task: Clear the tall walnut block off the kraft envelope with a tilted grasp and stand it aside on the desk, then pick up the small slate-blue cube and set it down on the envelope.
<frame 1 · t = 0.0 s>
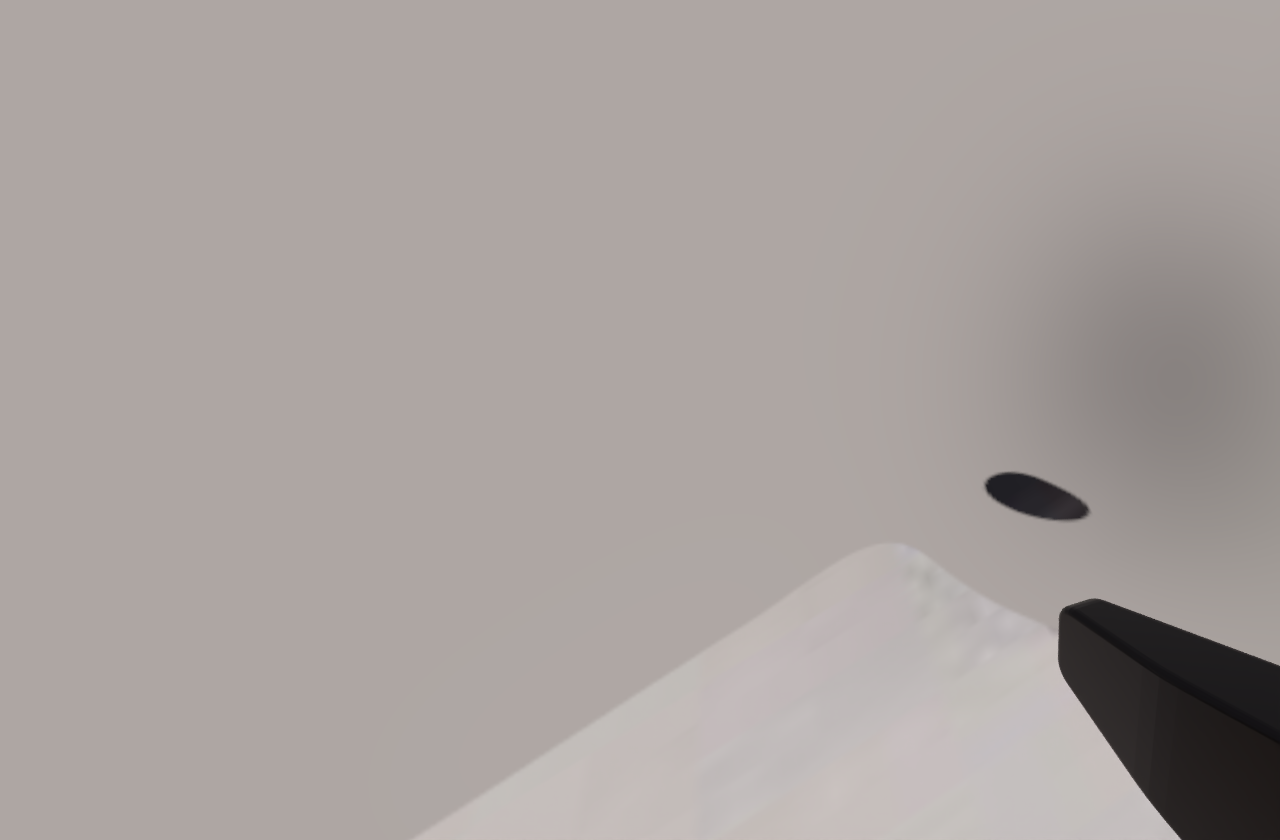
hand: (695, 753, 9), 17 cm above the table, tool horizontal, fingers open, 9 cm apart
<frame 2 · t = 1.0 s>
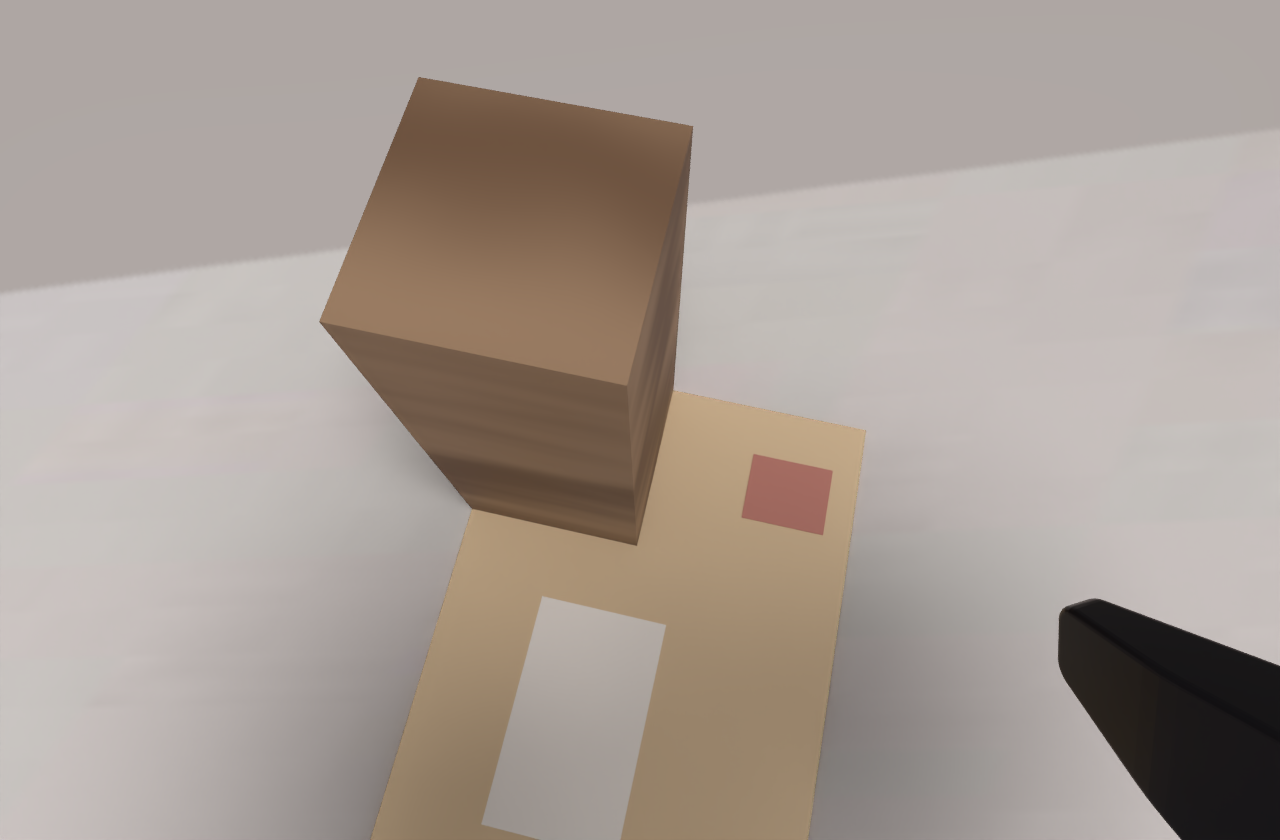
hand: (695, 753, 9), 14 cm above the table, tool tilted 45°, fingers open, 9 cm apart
walnut block: (575, 448, 25), resting on kraft envelope
kraft envelope: (630, 655, 23), on the table
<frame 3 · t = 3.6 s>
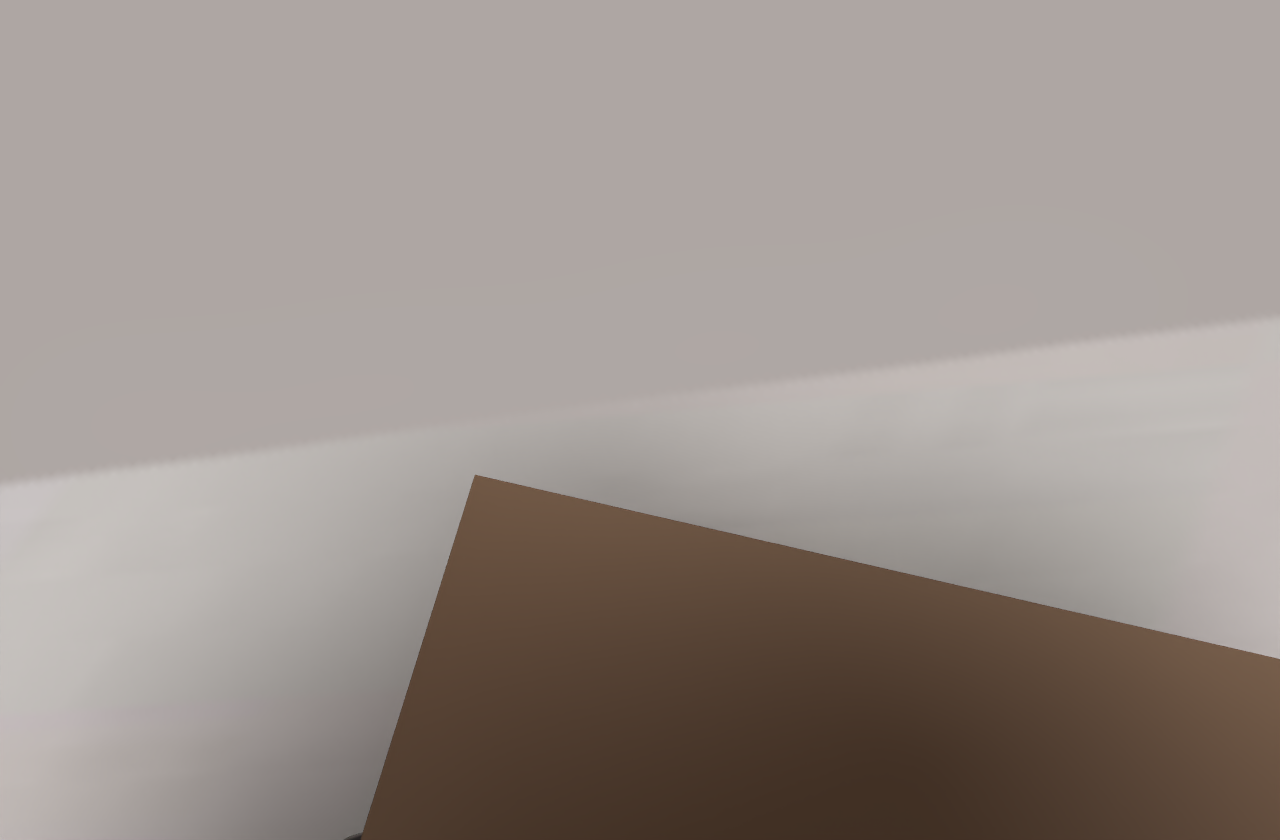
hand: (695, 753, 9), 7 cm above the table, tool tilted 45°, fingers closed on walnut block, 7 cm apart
walnut block: (695, 817, 15), resting on kraft envelope, touching gripper
when the fingers open (8 cm above the table, at t = 8.3 s): walnut block drops 1 cm, on the table.
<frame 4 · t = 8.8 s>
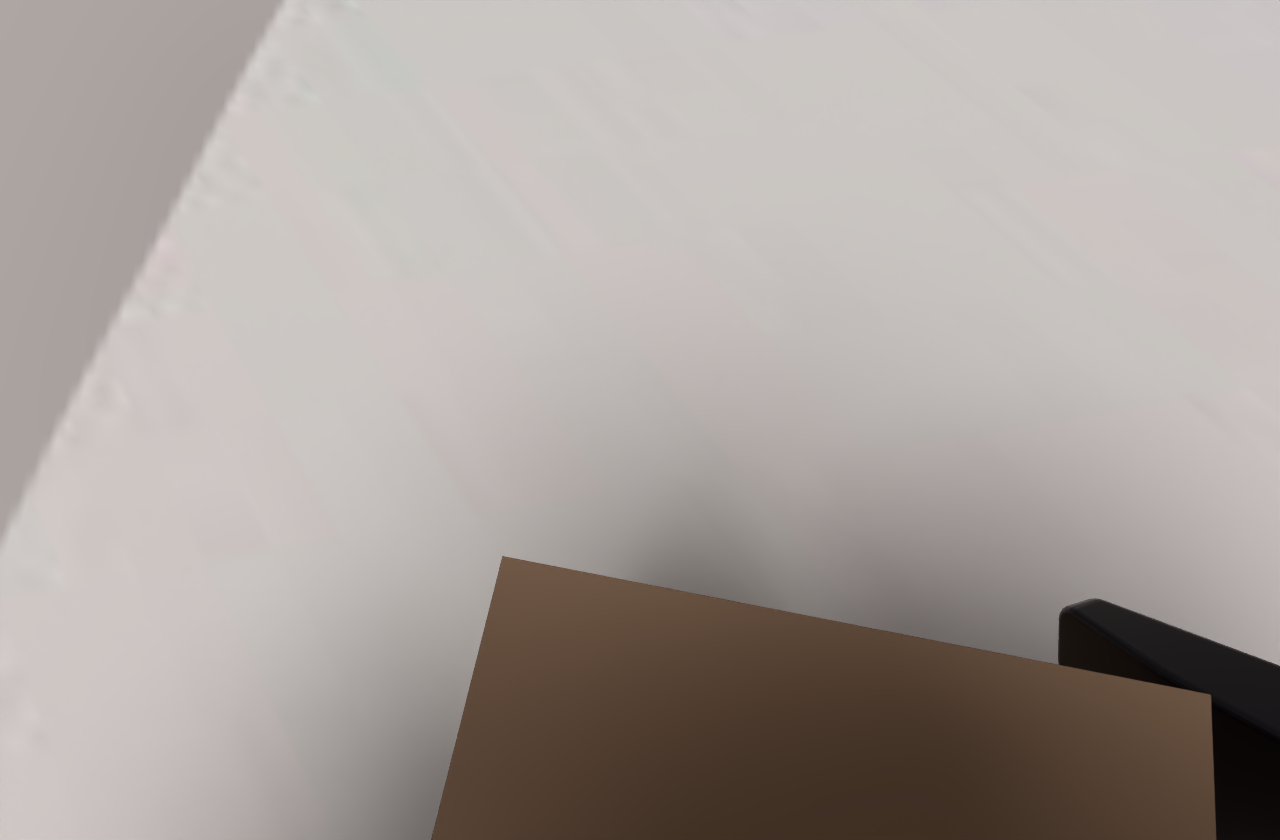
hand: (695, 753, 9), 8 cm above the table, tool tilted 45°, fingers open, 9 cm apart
walnut block: (692, 812, 16), on the table
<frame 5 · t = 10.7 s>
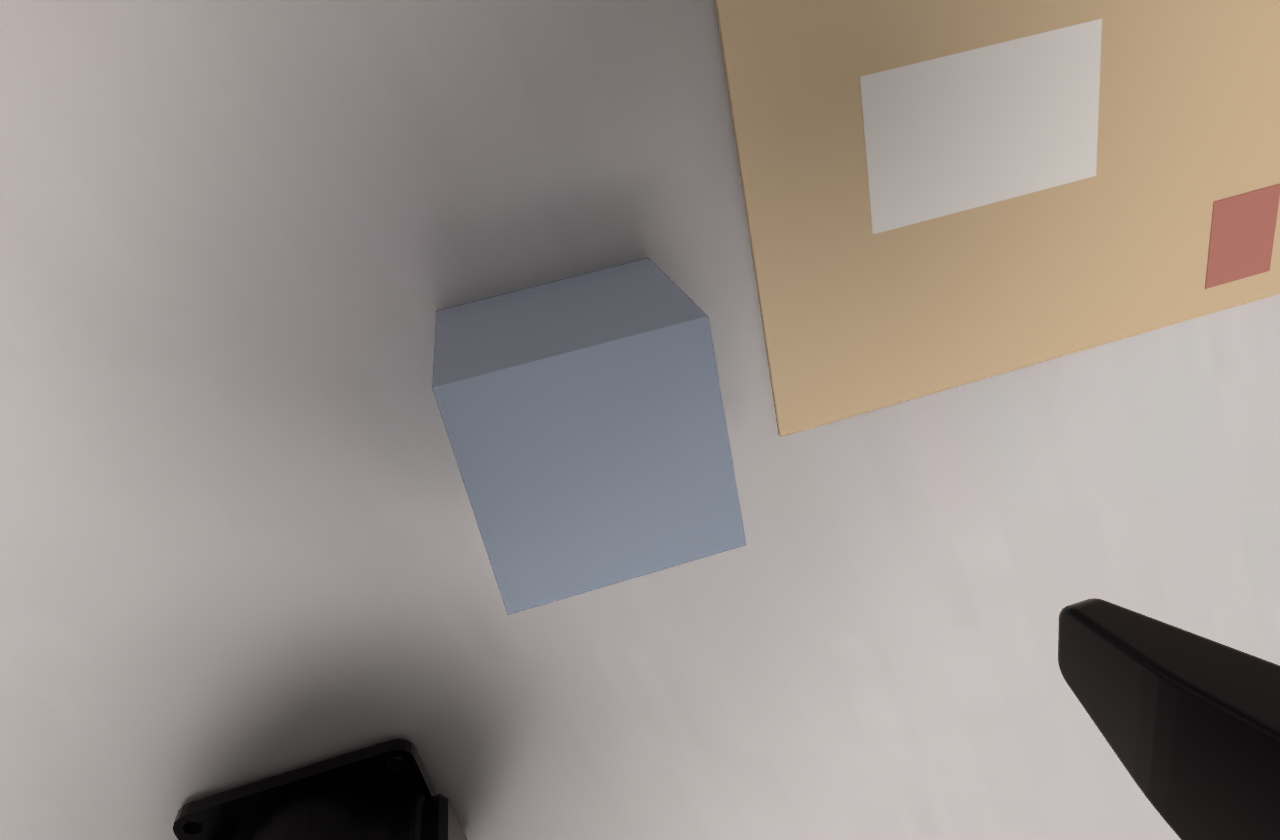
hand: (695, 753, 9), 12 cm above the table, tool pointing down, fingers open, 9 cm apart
slate-blue cube: (568, 381, 20), on the table
kraft envelope: (1054, 151, 20), on the table
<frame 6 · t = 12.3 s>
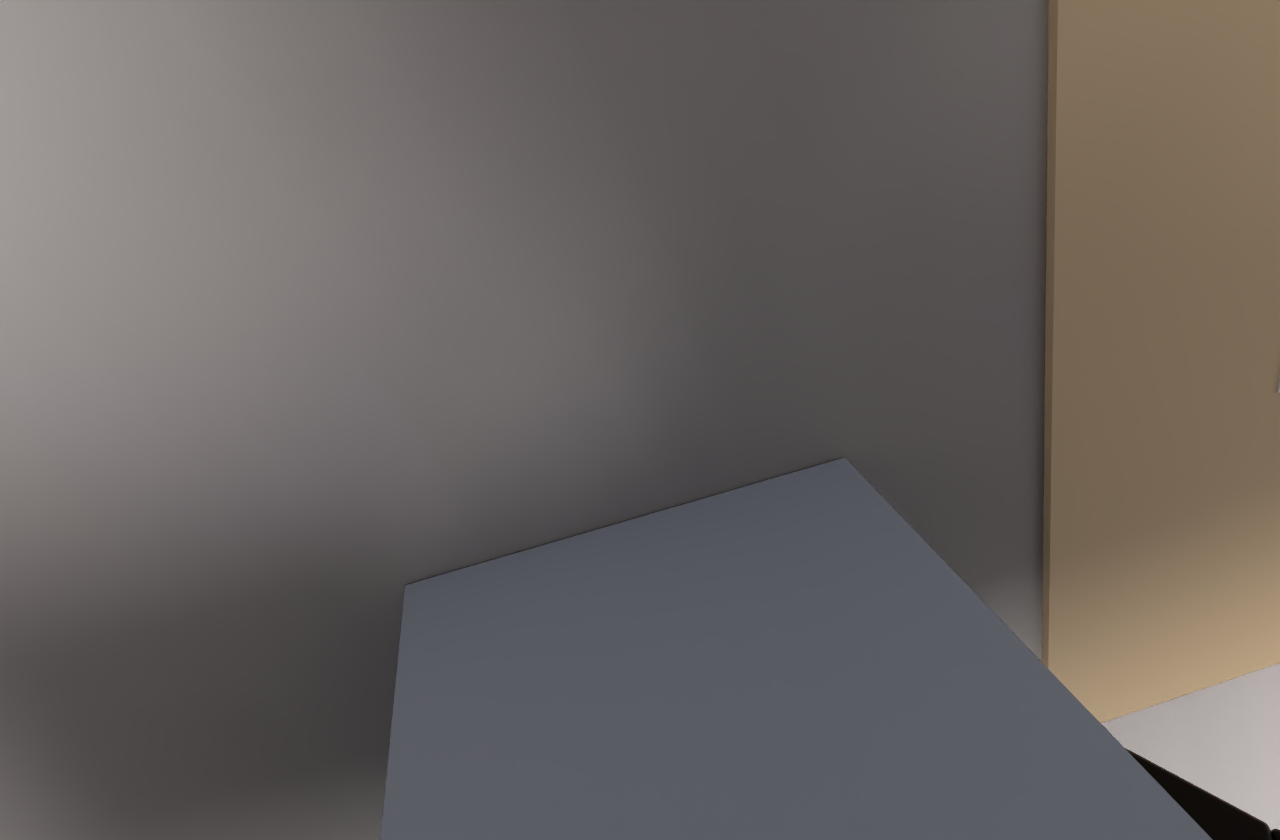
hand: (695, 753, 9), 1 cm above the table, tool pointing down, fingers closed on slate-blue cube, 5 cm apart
slate-blue cube: (672, 687, 10), on the table, touching gripper
when the fingers open (2 cm above the table, at t = 16.3 s): slate-blue cube drops 1 cm, resting on kraft envelope.
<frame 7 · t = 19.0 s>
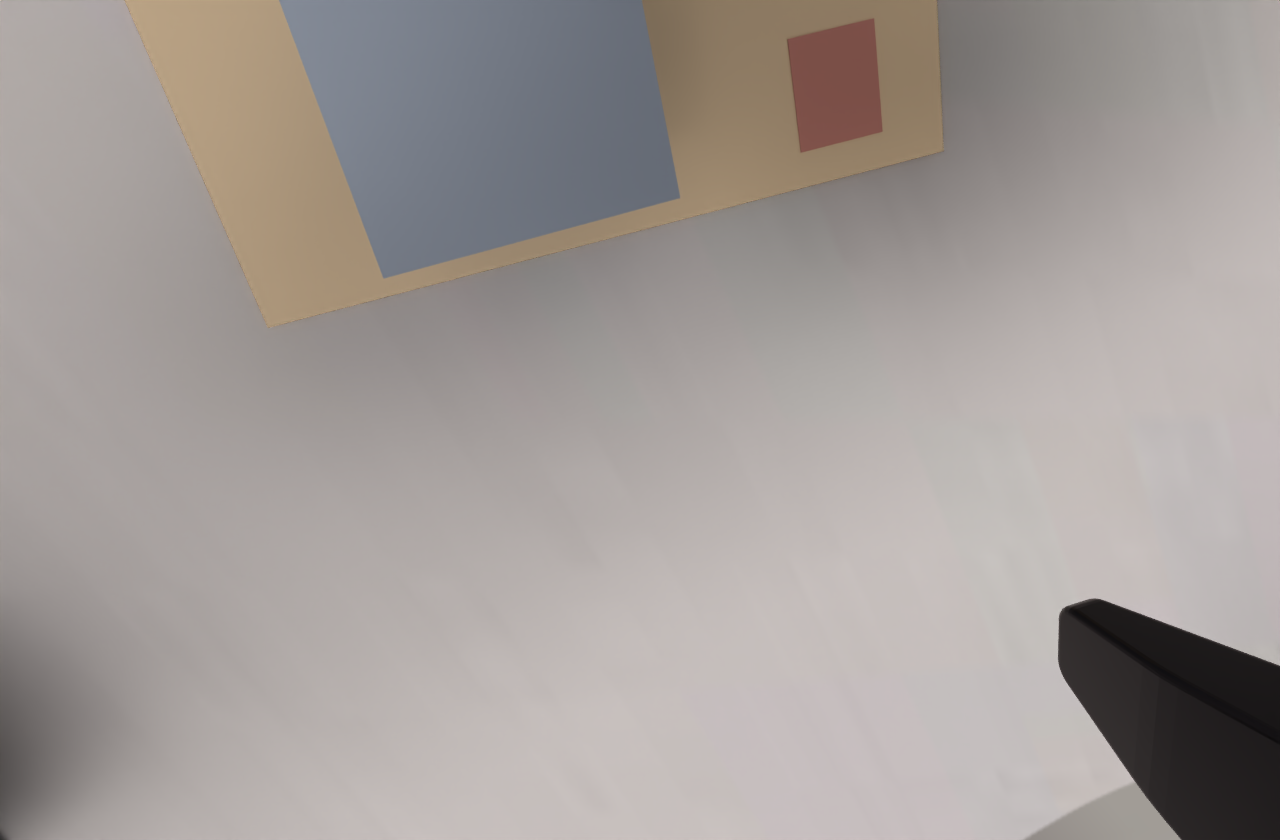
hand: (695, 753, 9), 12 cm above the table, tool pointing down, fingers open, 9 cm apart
slate-blue cube: (479, 67, 17), resting on kraft envelope
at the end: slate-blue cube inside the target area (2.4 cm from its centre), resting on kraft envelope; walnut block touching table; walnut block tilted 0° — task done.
